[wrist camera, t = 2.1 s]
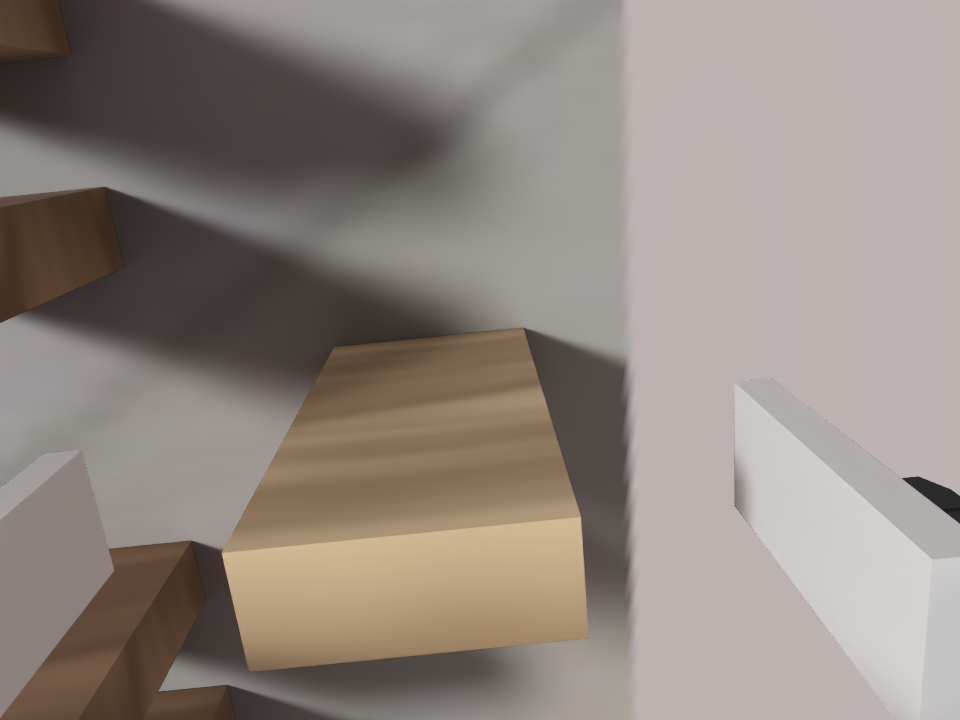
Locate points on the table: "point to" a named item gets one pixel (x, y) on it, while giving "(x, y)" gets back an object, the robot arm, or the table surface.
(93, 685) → the domino
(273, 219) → the table surface
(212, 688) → the domino
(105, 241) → the domino
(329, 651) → the oak domino
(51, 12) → the domino
